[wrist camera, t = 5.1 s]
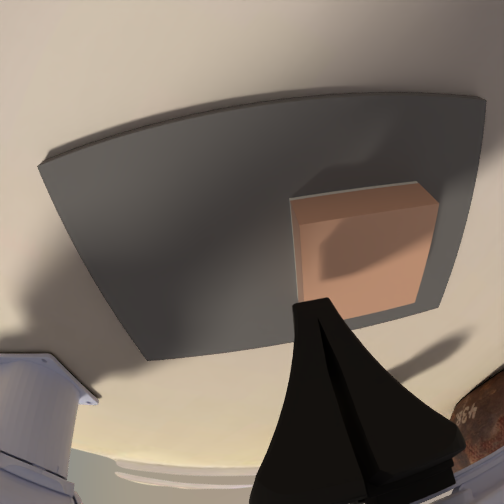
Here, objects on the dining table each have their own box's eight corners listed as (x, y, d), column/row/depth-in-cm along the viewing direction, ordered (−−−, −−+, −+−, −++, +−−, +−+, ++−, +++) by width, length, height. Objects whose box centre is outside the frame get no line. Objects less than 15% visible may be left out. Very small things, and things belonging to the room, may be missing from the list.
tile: (305, 327, 15) (414, 302, 15) (299, 225, 11) (439, 203, 11) (297, 297, 17) (400, 277, 16) (289, 198, 13) (416, 181, 13)
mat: (148, 353, 20) (147, 360, 19) (43, 160, 11) (37, 166, 11) (434, 301, 19) (438, 307, 19) (478, 97, 11) (486, 100, 10)
